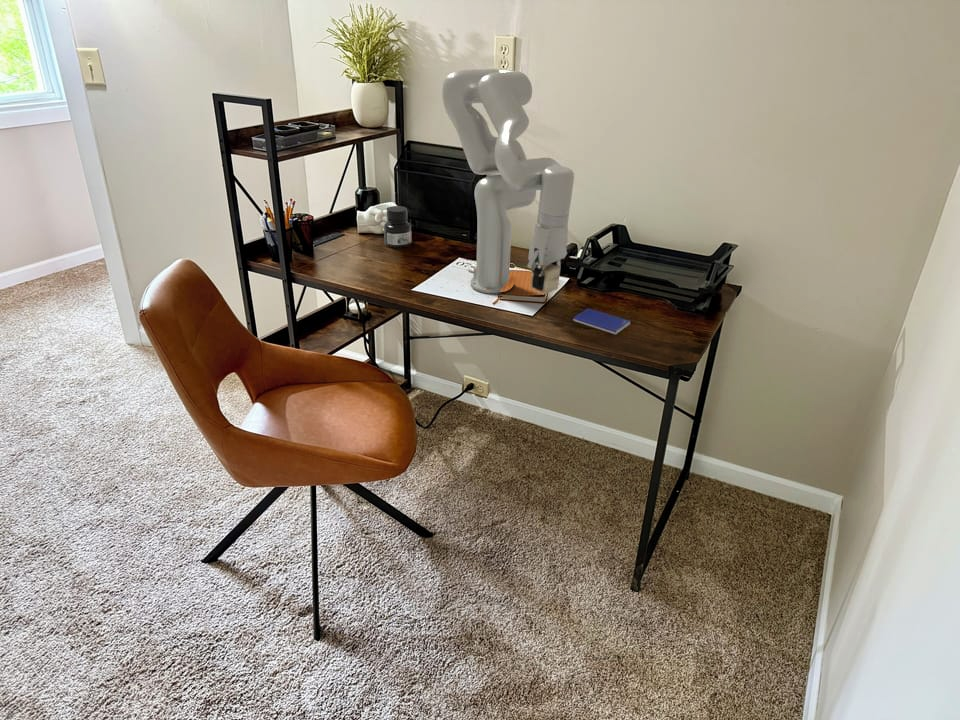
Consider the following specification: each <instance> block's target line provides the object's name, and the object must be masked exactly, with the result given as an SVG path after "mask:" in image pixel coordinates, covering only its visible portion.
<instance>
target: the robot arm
mask: <svg viewBox="0 0 960 720" xmlns="http://www.w3.org/2000/svg"><path fill="white" fill-rule="evenodd" d="M441 92H442V93H441V95H442V102H443V106H444V110H445V112H446V114H447V115H448V118H449V119H450V121H451V123H452V125H453V127H454V128H455V130H456V134H457V135H458V138H459V141H460V144H461V146H462V150H463V153H464V154H465V157H466V160H467V163H468V166H469V167H470V169H471V171H472V172H473V173H474V174H475V175H482V176H483V175H488V176H485V177H483V178H482V179H479V181H478V182H477V183H476V185H475V187H474V200H475V206H476V207H475V208H476V217H477V225H476V226H477V232H476V233H477V237H476V240H477V241H476V264H475V263H471V265H470V267H468V270H467V271H468V273H470V274H473V277H472V279H470V287H471V288H472V289H473V290H475V291H476V292H479V293H480V292H481V293H482V294H483V293H485V294H500V293H499V292H500V291H501V289H502V287H503V286H504V285H505V284H507V283H508V282H509V278H510V265H511V263H510V262H511V247H512V246H511V245H512V224H511V220H510V219H509V218H508V216H507V214H506V211H509V210H514V209H519V208H526V207H529V206H530V205H532V204H533V203H534V201H535V199H536V197H537V191H540V193H539V201H538V202H539V203H538V212H537V220H536V224H535V225H534V228H533V232H532V235H531V239H530V243H529V251H528V263H527V268H528V269H529V270H530V271H531V274H532V273H533V282H532V287H534V288H536V289H538V290H540V291H541V290H543V285H544V277H545V276H543V274H544V270H545V267H546V265H548V264H550V263H551V264H553V265H556V266H558V267H561V265H562V263H563V262H564V260H565V258H566V256H567V255H568V251H567V246H568V237H569V227H568V225H569V224H568V223H569V218H570V210H571V203H572V196H573V195H572V194H573V190H574V189H573V187H574V182H575V173H574V171H573V170H572V169H571V168H569V167H566V166H563V165H561V164H559V162H557V161H556V160H555V159H554V158H551V157H538V158H528V159H527V156H526V154H525V151H524V148H523V147H522V144H521V143H520V142H519V141H518V140H517V139H518V138H519V137H520V136H522V135H523V134H524V132H526V130H527V129H528V127H529V124H530V120H529V117H528V115H527V113H526V111H525V109H524V106H525V105H528V103H530V101H531V99H532V95H533V86H532V83H531V80H530V78H529V76H527V75H526V74H525V73H523V72H522V71H516V70H508V69H501V68H481V69H479V68H478V69H473V68H472V69H460V70H455V71H454V72H451V73H449V74H448V75H447V76H446V77H445V78H444V80H443V83H442V90H441ZM473 104H482V105H483V108H484V109H485V112H486V113H487V115H488V117H489V119H490V121H491V123H492V125H493V127H494V129H495V131H496V133H497V136H495V135H493V134H492V132H491V131H490V127H489V124H488V122H487V120H486V119H485V117H484V116H483V115H482V113H481V112H480V111H479V110H477V109H476V108H475V107H474V106H473ZM491 174H492V175H491ZM493 174H495V175H493ZM538 265H539V266H541V269H540V270H539V268H538ZM536 289H535V290H536ZM538 290H537V291H538ZM540 291H539V292H540Z"/></svg>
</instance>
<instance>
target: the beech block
mask: <svg viewBox="0 0 960 720" xmlns="http://www.w3.org/2000/svg"><path fill="white" fill-rule="evenodd" d="M538 268H539V270H540V269H541V266H539V265H538ZM560 274H561V267H558V266H556V265H553V264H551V263H550V264H548V265H546V267H545V270H544V274H543V276H545V277H544V285H543V290H541V291H540V290H538V289H536V288H534V287H532V282H533V273H532V272H531V279H530V280H531V281H530V288H532V289H534V290H536V291H538V292H540V293H543V294H545V295H546V294H549V293H552V292H553V291H556V290H558V288H559V281H560V276H561V275H560Z"/></svg>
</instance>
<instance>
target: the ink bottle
mask: <svg viewBox="0 0 960 720" xmlns="http://www.w3.org/2000/svg"><path fill="white" fill-rule="evenodd" d="M383 232H384V233H383V235H384V244H385V246H387V247H388V248H389V247H390V248H394V249H395V248H396V249H398V248H400V249H401V248H406V247H409V246H411V244H412V226H411V223H410V222H408V207H405V206H401V205H393V206H392V205H391V206H388V207H386V222H385V223H384V225H383Z"/></svg>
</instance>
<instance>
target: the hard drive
mask: <svg viewBox="0 0 960 720" xmlns="http://www.w3.org/2000/svg"><path fill="white" fill-rule="evenodd" d="M572 320H573V322H576V323H580V324H582V325H585V326H588V327H591V328H595V329H597V330H601V331H604V332H606V333H610V334H613V335H618V333H620V332H621V331H622V330H624V329H625V328H627V327H628V326H629V325H630V324H631V320H628V319H625V318H622V317H618V316H615V315H611V314H608V313H606V312H602V311H598V310H596V309H591V308H585V310H583V311H581V312H580V313H578V314H577V315H575V316H574V317H573V319H572Z"/></svg>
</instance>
